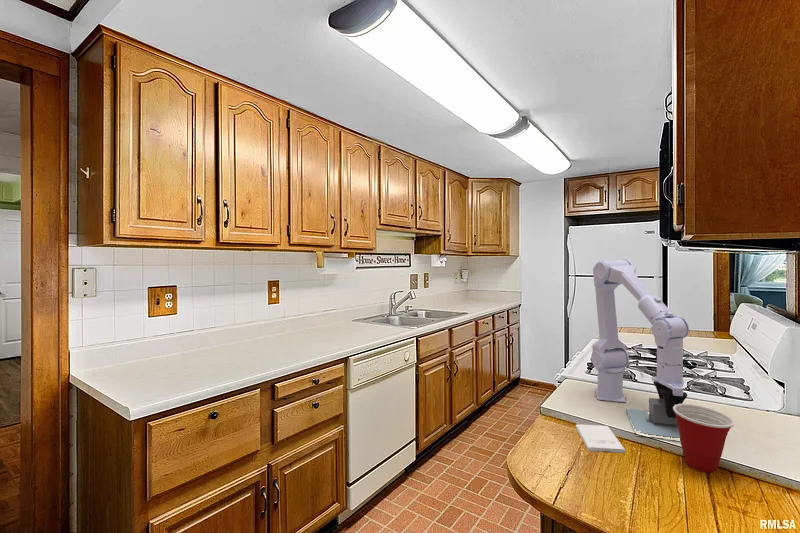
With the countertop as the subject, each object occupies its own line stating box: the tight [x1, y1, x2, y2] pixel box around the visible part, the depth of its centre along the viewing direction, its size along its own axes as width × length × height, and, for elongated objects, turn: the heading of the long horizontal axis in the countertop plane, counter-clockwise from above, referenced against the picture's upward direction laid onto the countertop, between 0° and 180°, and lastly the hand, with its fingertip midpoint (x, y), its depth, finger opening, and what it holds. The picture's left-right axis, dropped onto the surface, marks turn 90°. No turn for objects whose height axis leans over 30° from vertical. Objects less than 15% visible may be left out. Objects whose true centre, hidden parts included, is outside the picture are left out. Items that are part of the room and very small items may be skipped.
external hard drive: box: [575, 423, 626, 454], centre depth 101 cm, size 2×8×12 cm
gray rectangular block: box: [648, 397, 678, 425], centre depth 106 cm, size 4×7×5 cm, turn 71°
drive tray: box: [625, 407, 680, 438], centre depth 106 cm, size 16×18×4 cm
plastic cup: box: [673, 403, 735, 474], centre depth 88 cm, size 11×11×12 cm
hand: (669, 413), depth 106 cm, fingers closed on gray rectangular block, 4 cm apart
